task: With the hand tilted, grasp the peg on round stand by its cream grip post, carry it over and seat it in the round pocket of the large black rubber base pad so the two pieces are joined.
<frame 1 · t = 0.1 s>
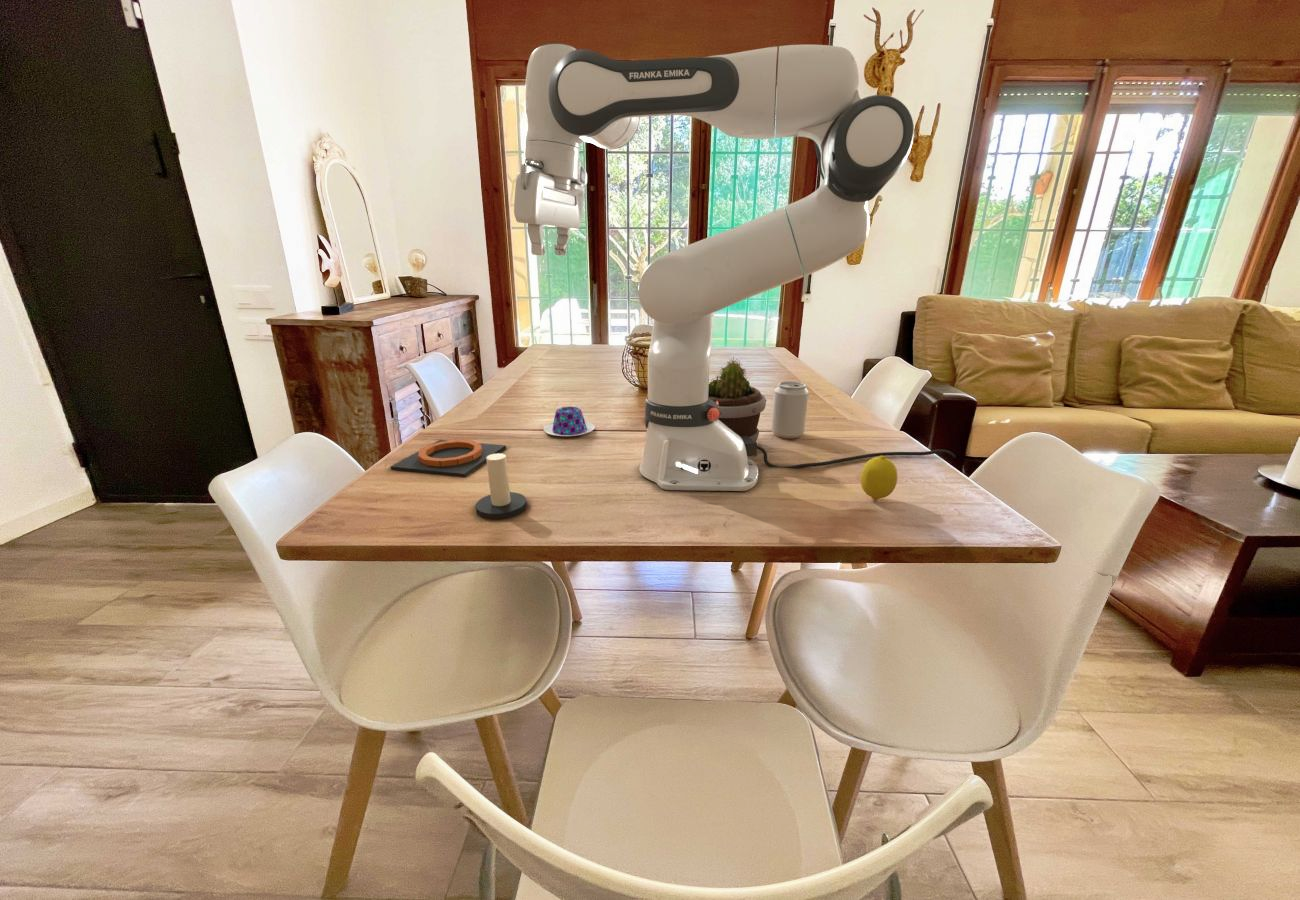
hand: (549, 255, 90), 39 cm above the table, tool pointing down, fingers open, 8 cm apart
base pad: (451, 458, 105), on the table
can: (787, 435, 119), on the table
flowerpot: (730, 445, 112), on the table
peg on round stand: (501, 507, 84), on the table
pudding: (569, 431, 122), on the table
lemon: (874, 501, 87), on the table
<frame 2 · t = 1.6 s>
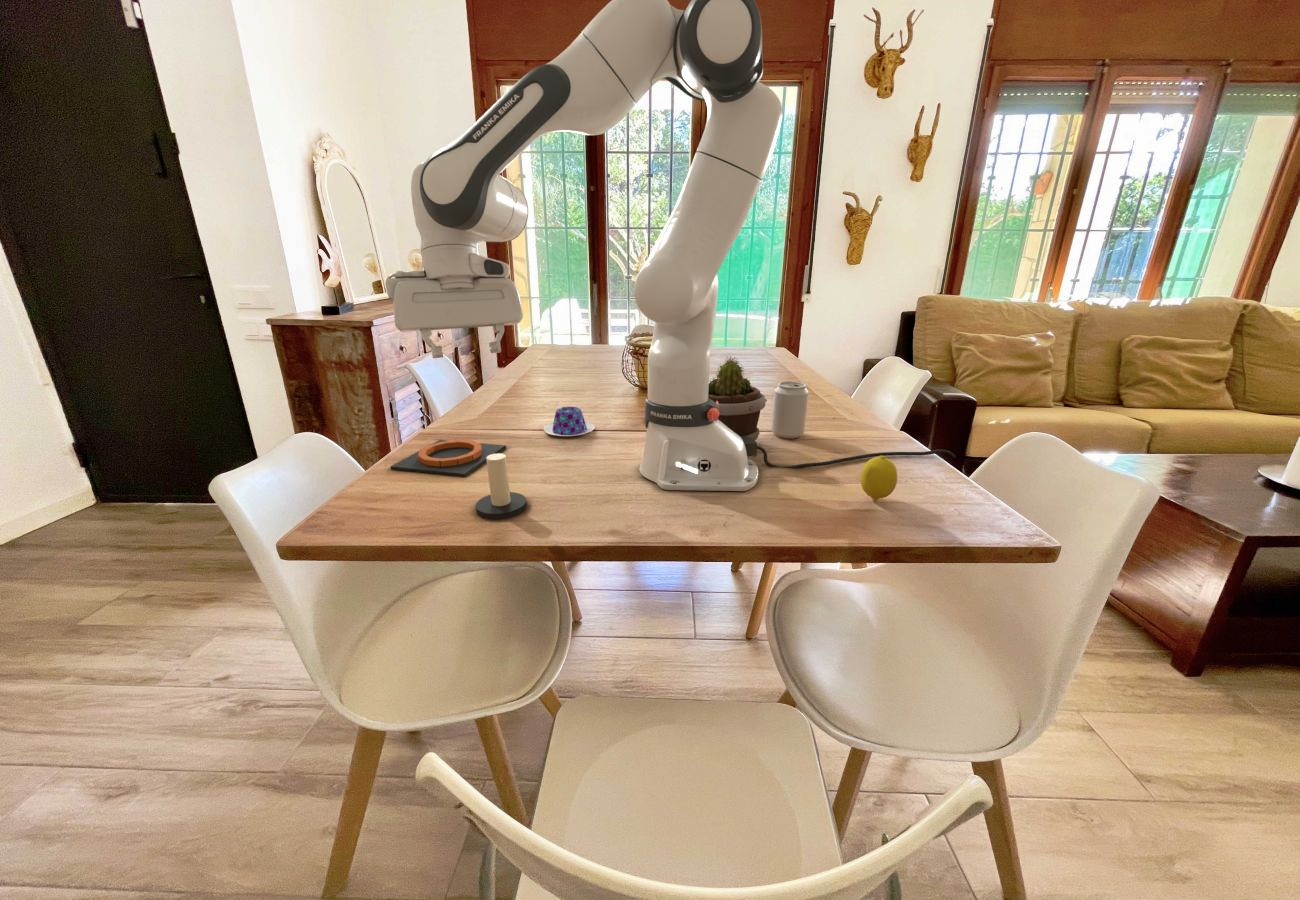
hand: (467, 355, 87), 23 cm above the table, tool pointing down, fingers open, 8 cm apart
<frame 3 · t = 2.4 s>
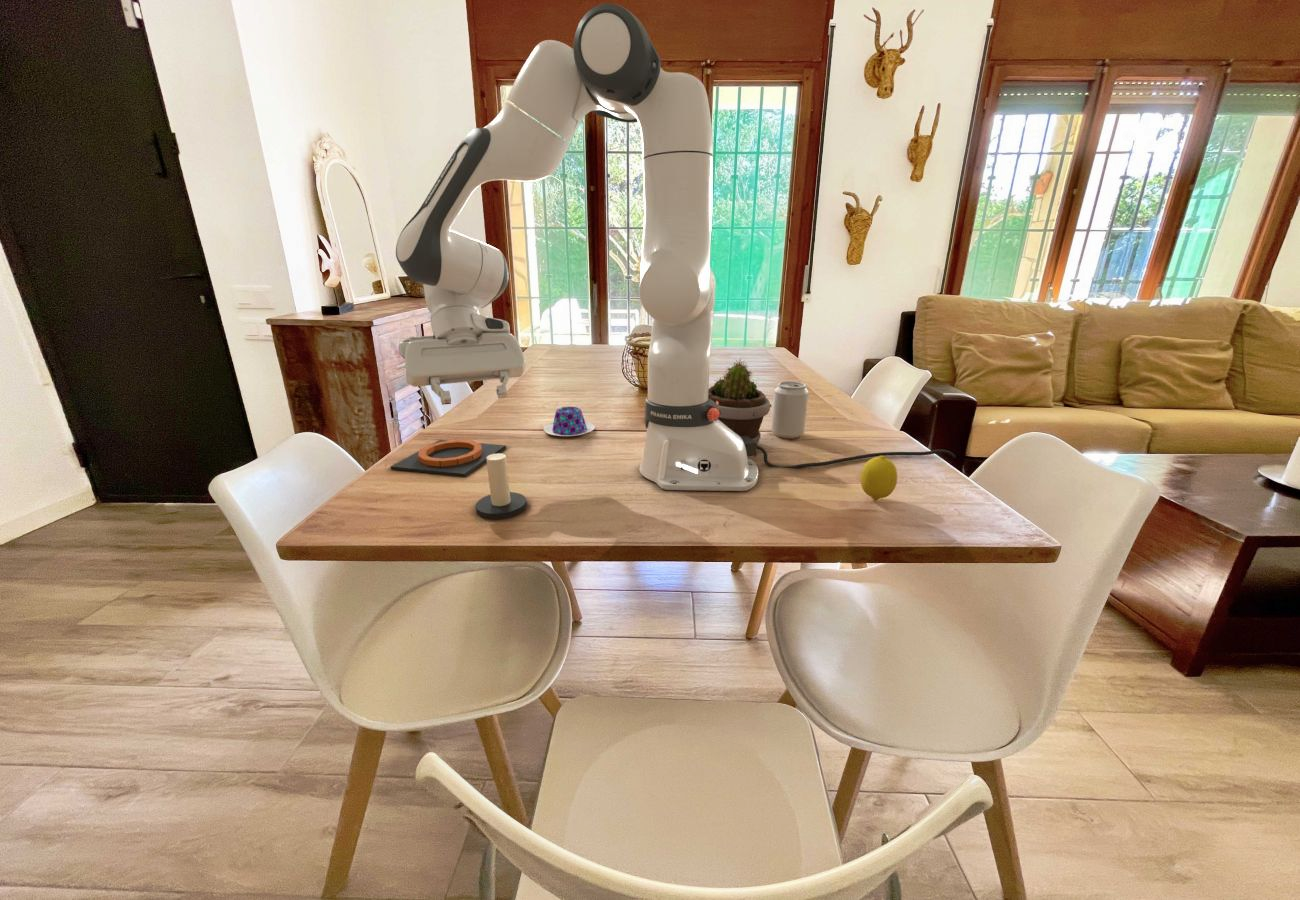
hand: (475, 399, 89), 15 cm above the table, tool tilted 45°, fingers open, 8 cm apart
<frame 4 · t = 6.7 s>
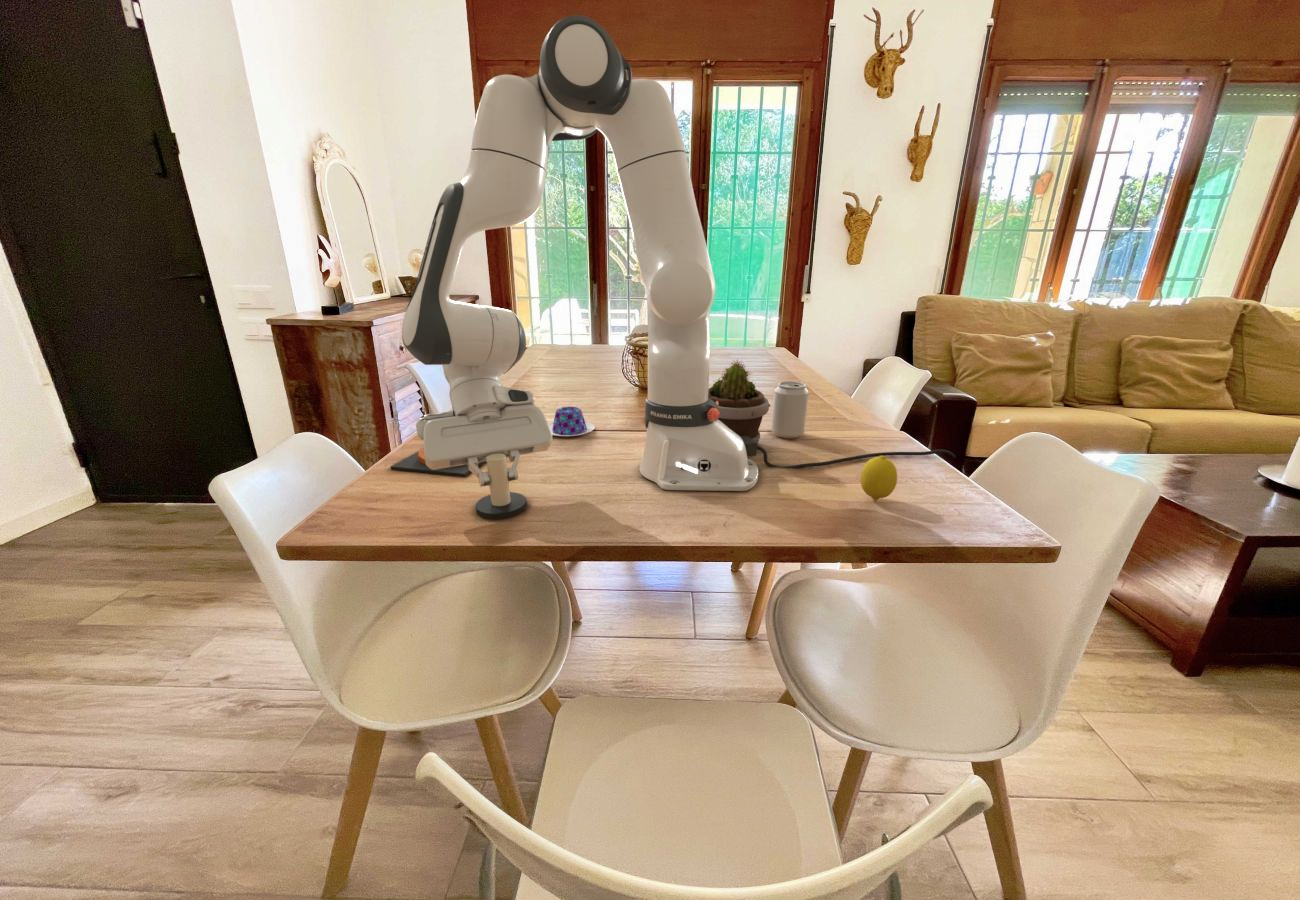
hand: (499, 481, 82), 5 cm above the table, tool tilted 45°, fingers closed on peg on round stand, 3 cm apart
peg on round stand: (501, 507, 84), on the table, touching gripper
everything else where it was.
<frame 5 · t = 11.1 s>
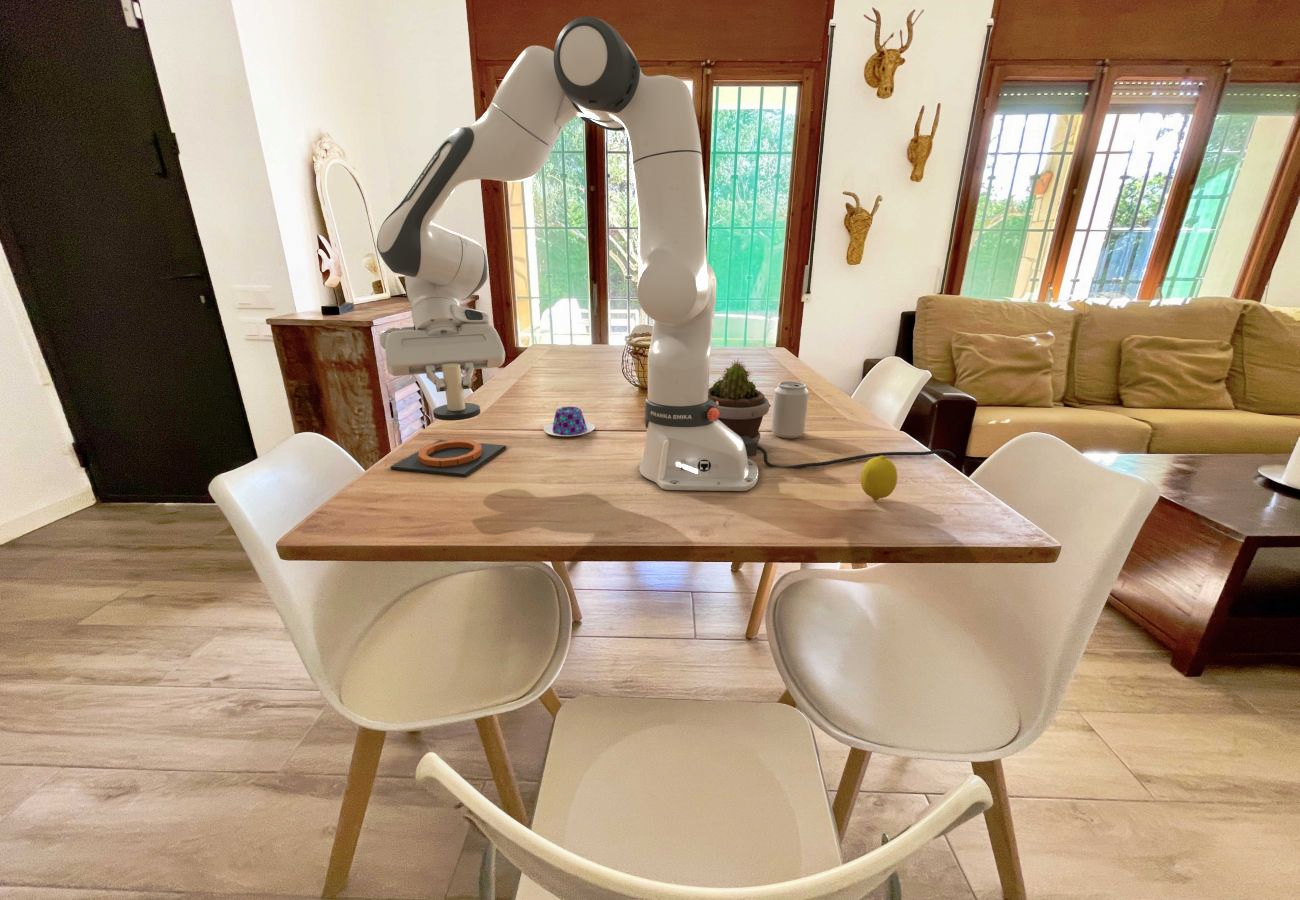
hand: (454, 388, 91), 17 cm above the table, tool tilted 45°, fingers closed on peg on round stand, 3 cm apart
peg on round stand: (457, 414, 94), point 12 cm above the table, touching gripper
everything else where it was.
when the fingers open (5 cm above the table, at t = 15.7 s): peg on round stand stays where it is, resting on base pad.
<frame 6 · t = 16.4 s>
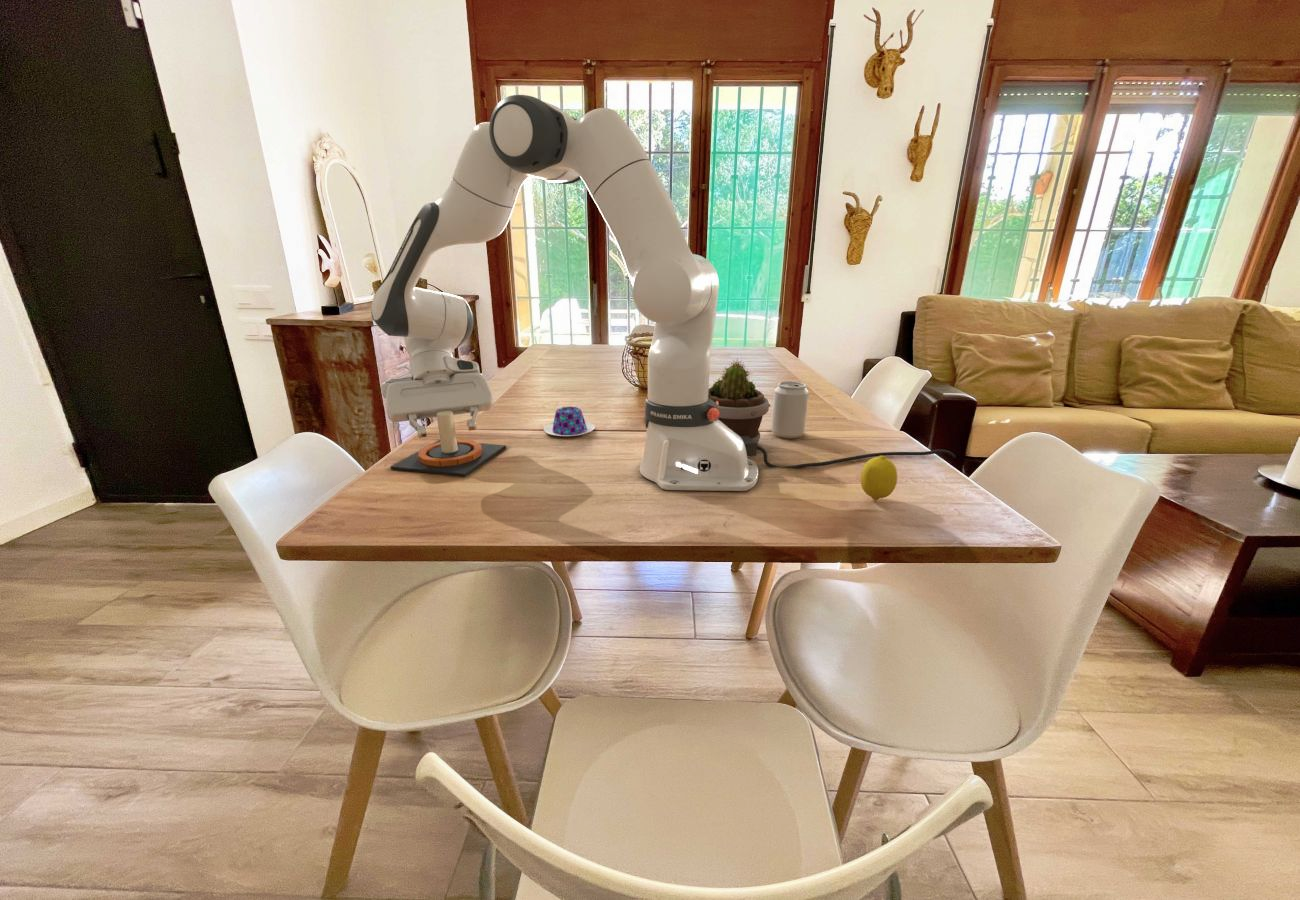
hand: (448, 432, 103), 6 cm above the table, tool tilted 45°, fingers open, 8 cm apart
peg on round stand: (450, 455, 105), point 1 cm above the table, touching base pad
everything else where it was.
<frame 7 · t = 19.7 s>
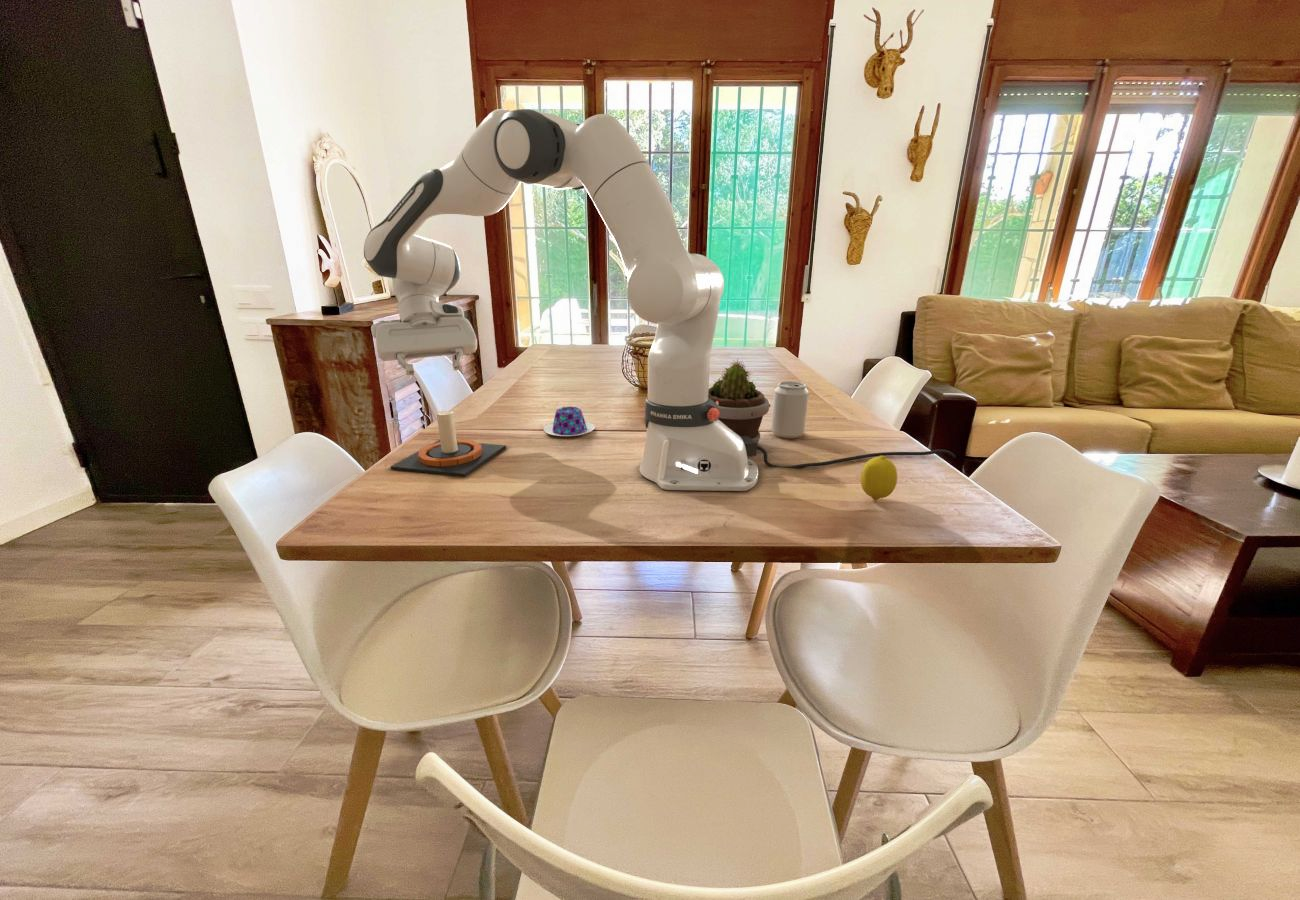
hand: (434, 371, 110), 16 cm above the table, tool tilted 45°, fingers open, 8 cm apart
nothing on the table moved.
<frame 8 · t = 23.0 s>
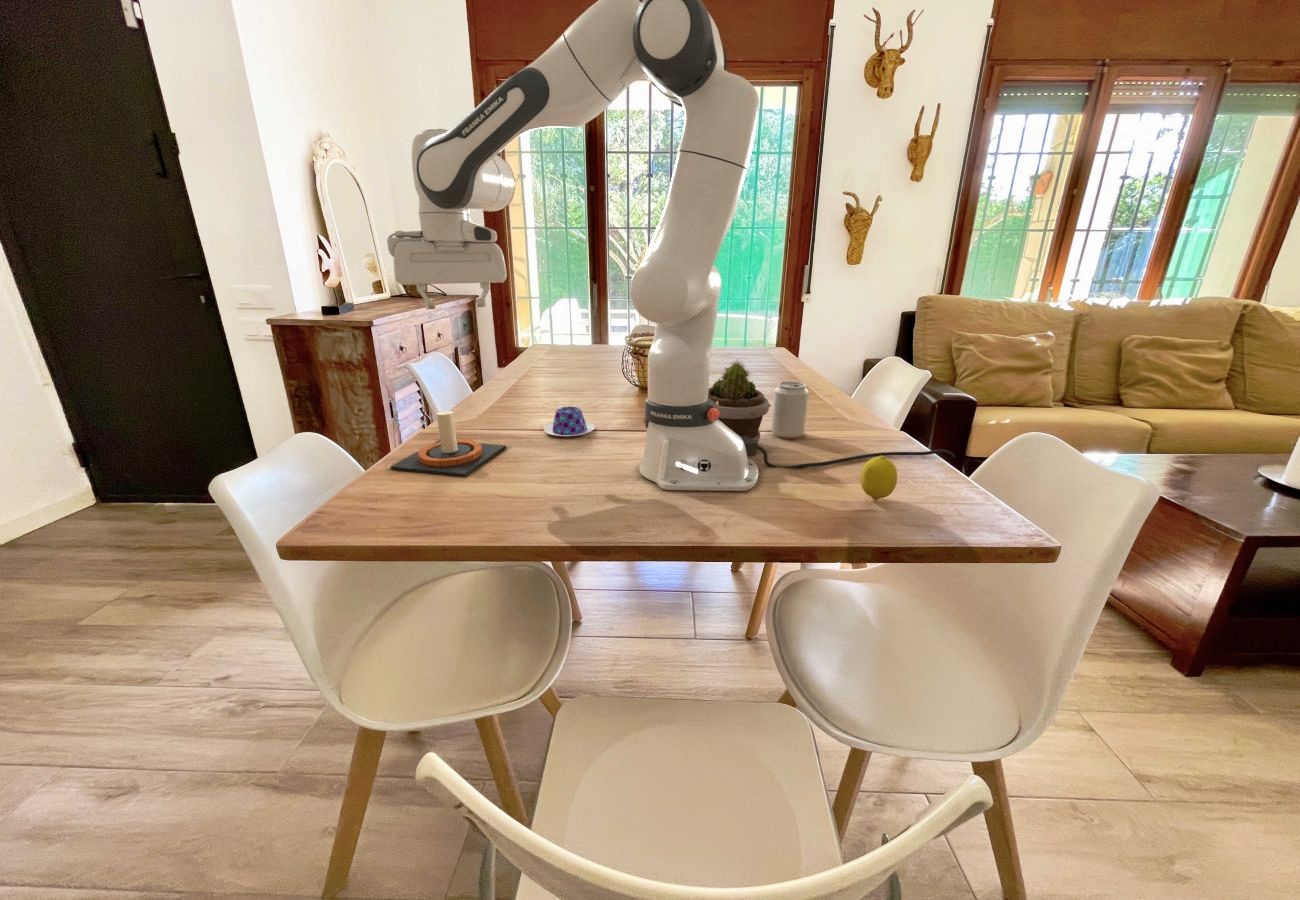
hand: (456, 308, 101), 29 cm above the table, tool pointing down, fingers open, 8 cm apart
nothing on the table moved.
at the end: peg on round stand 0.1 cm off-centre on the base pad, point 0.6 cm above the base pad's base; peg on round stand tilted 0°; the gripper is holding nothing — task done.
